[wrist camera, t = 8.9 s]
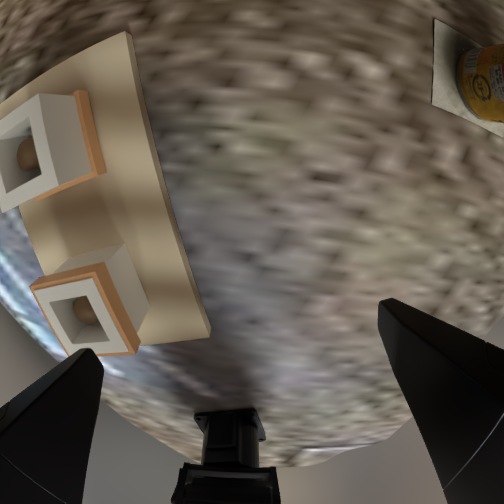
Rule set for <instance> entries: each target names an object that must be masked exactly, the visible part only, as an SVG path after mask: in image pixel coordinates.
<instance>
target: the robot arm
mask: <svg viewBox="0 0 504 504" xmlns="http://www.w3.org/2000/svg"><path fill="white" fill-rule="evenodd" d="M378 330H379V333H380V336H381V338H382V341H383V344H384V347H385V350H386V353H387V355H388V358H389V361H390V364H391V367H392V370H393V373H394V375H395V377H396V379H397V382H398V384H399V386H400V388H401V390H402V392H403V394H404V397H405V399H406V401H407V403H408V405H409V407H410V410H411V412H412V414H413V416H414V419H415V421H416V423H417V426H418V428H419V430H420V433H421V435H422V437H423V440H424V442H425V445H426V447H427V449H428V452H429V454H430V457H431V459H432V462H433V464H434V467H435V470H436V472H437V475H438V478H439V480H440V483H441V486H442V488H443V489H444V490H443V492H444V494H445V497H446V500H447V503H448V504H504V349H501V348H499V347H497V346H495V345H493V344H491V343H489V342H485V341H484V340H482V339H480V338H478V337H476V336H474V335H472V334H469V333H467V332H465V331H463V330H461V329H459V328H457V327H455V326H453V325H450V324H448V323H446V322H444V321H442V320H440V319H438V318H435V317H433V316H431V315H429V314H427V313H425V312H422V311H420V310H418V309H416V308H414V307H412V306H409V305H407V304H405V303H403V302H401V301H399V300H396V299H394V298H389V299H385V300H381V301H380V302H379V305H378ZM103 376H104V368H103V365H102V363H101V362H100V360H99V359H98V357H97V355H96V354H95V352H94V351H93V350H92V349H91V348H81V349H79V350H77V351H76V352H75V353H73V354H72V355H71V356H69V357H68V358H66V359H65V360H64V361H62V362H61V363H60V364H58V365H57V366H56V367H54V368H53V369H51V370H50V371H49V372H47V373H46V374H45V375H43V376H42V377H41V378H39V379H38V380H37V381H35V382H34V383H33V384H31V385H30V386H29V387H27V388H26V389H25V390H23V391H22V392H21V393H19V394H18V395H17V396H16V397H14V398H13V399H11V400H10V402H7V403H6V404H5V405H3V406H2V407H1V408H0V504H82V499H83V491H84V484H85V478H86V471H87V465H88V459H89V453H90V448H91V443H92V438H93V433H94V428H95V424H96V419H97V415H98V410H99V403H100V396H101V389H102V382H103ZM194 420H195V421H196V423H197V424H198V426H199V428H200V429H201V431H202V432H203V434H204V439H203V448H202V458H201V465H197V464H190V463H186V462H184V466H183V468H180V470H179V477H178V482H177V485H176V488H175V490H174V493H173V495H172V498H171V503H172V504H281V499H280V492H279V486H278V479H277V473H276V467H275V466H274V467H263V468H259V443H258V442H262V441H265V440H266V436H265V433H264V431H263V428H262V425H261V423H260V420H259V417H258V415H257V412H256V410H255V409H243V410H234V411H224V412H212V413H197V414H195V415H194Z"/></svg>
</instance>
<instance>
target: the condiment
mask: <svg viewBox="0 0 504 504" xmlns="http://www.w3.org/2000/svg"><path fill="white" fill-rule="evenodd" d="M463 49H464V50H463ZM433 71H434V79H433V97H432V105H434V106H437V107H439V108H442V109H444V110H446V111H449V112H452V113H454V114H456V115H458V116H460V117H463V118H465V119H467V120H469V121H471V122H473V123H475V124H477V125H479V126H481V127H483V128H485V129H487V130H489V131H491V132H493V133H495V134H497V135H499V136H500V137H504V136H503V135H504V44H499V45H493V46H487V47H482V46H481V45H479V44H477V43H476V42H475V41H473V40H471V39H470V38H469V37H467V36H465V35H463V34H461V33H460V32H458V31H456V30H454V29H452V28H451V27H449V26H448V25H446V24H444V23H442V22H440V21H438V20H436V19H435V28H434V65H433ZM452 85H453V86H454V88H453V87H452ZM455 90H457V92H456V91H455Z"/></svg>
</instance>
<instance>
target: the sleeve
mask: <svg viewBox="0 0 504 504" xmlns="http://www.w3.org/2000/svg"><path fill="white" fill-rule="evenodd" d="M31 138H33V139H34V144H35V149H36V153H37V157H38V161H39V165H40V167H39V168H36V169H33V170H30V171H24V170H22V169H21V168H20V166H19V165H18V162H17V150H18V147H19V145H20V143H21V142H22V141H24V140H26V139H31ZM104 173H107V172H106V168H105V165H104V161H103V157H102V153H101V149H100V145H99V141H98V137H97V133H96V129H95V124H94V120H93V115H92V111H91V106H90V101H89V96H88V91H83V90H77V91H75V92H73V93H71V94H69V95H56V94H42V93H38V94H37V95H35V96H34V97H32V98H31V99H29V100H28V101H26V102H25V103H23V104H22V105H20V106H19V107H18V108H16V109H15V110H13V111H12V112H11V113H9V114H8V115H7V116H5V117H4V118H3V119H1V120H0V207H1V210H2V213H4V212H6V211H8V210H10V209H12V208H14V207H16V206H18V205H20V204H22V203H24V202H26V201H29V200H31V199H33V198H35V201H36V202H37V201H39V200H41V199H43V198H46V197H48V196H50V195H52V194H55V193H57V192H59V191H61V190H64V189H66V188H69V187H71V186H73V185H76V184H78V183H81V182H83V181H86V180H88V179H91V178H94V177H96V176H99V175H101V174H104Z"/></svg>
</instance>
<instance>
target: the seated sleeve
mask: <svg viewBox="0 0 504 504" xmlns="http://www.w3.org/2000/svg"><path fill="white" fill-rule="evenodd" d="M29 287H30V289H31V291H32V293H33V295H34V297H35V299H36V301H37V303H38V305H39V307H40V309H41V311H42V313H43V314H44V316H45V318H46V320H47V322H48V323H49V325H50V327H51V329H52V330H53V332H54V334H55V336H56V337H57V339H58V341H59V342H60V344H61V345H62V347H63V349H64V350H65V352H66V353H67V355H68V357H69V356H71V355H72V354H73V353H75V352H76V351H77V350H79V349H81V348H91V349H92V350H93V351H94V352H95V354H96V355H97V356H115V355H130V354H136V352H137V350H138V347H139V345H140V343H141V340H140V339H139V337H138V335H137V333H138V331H139V329H140V327H141V324H142V322H143V320H144V318H145V316H146V314H147V312H148V310H149V308H150V304H149V302H148V300H147V297H146V295H145V292H144V290H143V288H142V285H141V283H140V280H139V278H138V275H137V273H136V270H135V268H134V265H133V262H132V260H131V257H130V254H129V252H128V249H127V246H126V244H125V243H122V244H118V245H114V246H110V247H106V248H102V249H99V250H95V251H91V252H87V253H83V254H80V255H76V256H72V257H70V258H69V259H67V260H66V261H65V262H64V263H63V264H62V265H61V266H60V267H58V268H57V269H56V270H55V271H54V272H53V273H52V274H51V275H47V276H43V277H39V278H38V279H37V280H36V281H35V282H34V283H33V284H31V285H30V286H29ZM80 296H87V298H88V300H89V302H90V304H91V306H92V308H93V310H94V312H95V314H96V316H97V318H98V320H97V321H96V322H95V323H94V324H85V323H83V322H82V321H80V320H79V319H78V318H77V317H76V315H75V313H74V311H73V305H74V303H75V302H76V300H77V299H78V298H79V297H80Z"/></svg>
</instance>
